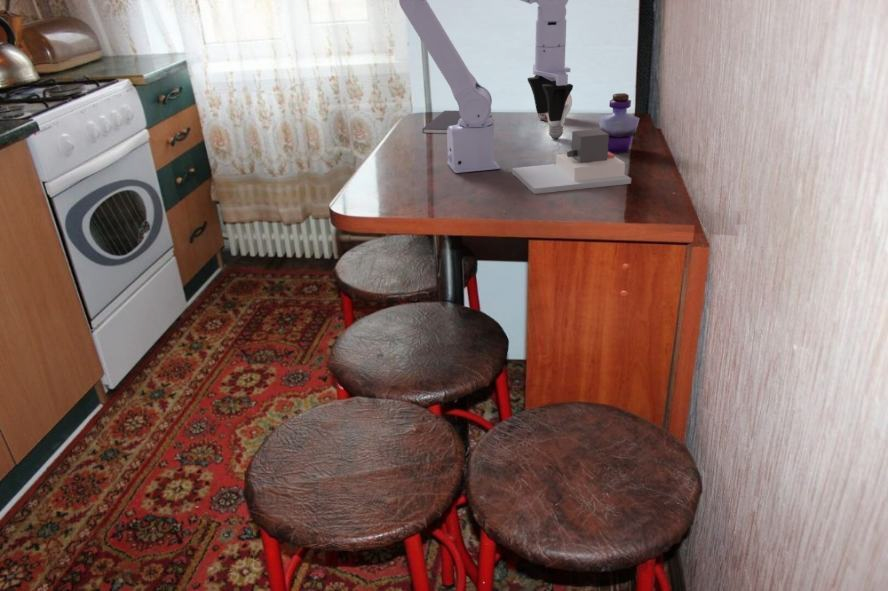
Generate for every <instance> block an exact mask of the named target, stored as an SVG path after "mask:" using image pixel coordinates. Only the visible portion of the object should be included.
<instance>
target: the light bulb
mask: <svg viewBox="0 0 888 591" xmlns="http://www.w3.org/2000/svg"><path fill="white" fill-rule="evenodd" d="M572 106H573V98H572V95H571V93H570V94H569V96H568V98H567V100H566V103H565V106H564V110H563V114H562V118H561V121H550V120H549V115H548V113H545V115H546V116H547V120H548V121H547V124H548V135H549V136H550V138H552V139H553V140H559V139H560V138H561V137H562V136H563V134H564V125H565V123H566V117H567V116H568V114H569V113H570V111H571V109H572Z"/></svg>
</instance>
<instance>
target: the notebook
mask: <svg viewBox="0 0 888 591" xmlns="http://www.w3.org/2000/svg"><path fill="white" fill-rule="evenodd" d="M459 119H461V117H460V114H459V110H443V111H442V112H441V113H440V114H439V115H438V116H437V115H436V117H435V118H433V119H432V120H431V121H430V122H429V123H427V125H425V126H424V127H423V128H421V129H422V134H426V133H427V134H428V133H429V134H430V133H431V134H447V129H448V127H449V126H453V125H457V124H458V121H459Z"/></svg>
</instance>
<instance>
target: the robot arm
mask: <svg viewBox="0 0 888 591" xmlns="http://www.w3.org/2000/svg"><path fill="white" fill-rule="evenodd" d="M520 1H521V2H524V3H527V4H530V5H531V4H534V3H536V4H537V5H538V6H537V14H536V15H537V16H536V17H537V19H536V20H535V51H534V52H535V53H534V54H535V56H534V57H535V58H534V61H535V62H534V64H533V65H532V66H533V70H532V74H533V75H534V76H533V77H532V76H530V77H527V82H528V85H529V87H530V88H531V92H532V96H533V100H534V104H535V110H536V113H537V115H538V114H540V113H548V115H549V120H550V121H561V118H562V114H563V110H564V106H565V103H566V100H567V98H568V96H569V94H571V92H572V91H573V88H574V85H573V84H572V83H568V82H569V81H568V80H569V78H568V77H569V74H568V73H571V68H570V67H568V66H566V45H567V43H566V42H567V40H566V39H567V19H566V17H567V16H566V15H567V8H566V6H567V4H568V2H569V0H520ZM398 3H399V6H400V8H401V10H402V12H403V13H404V14H405V17H406V18H407V19H408V21H409V23H410V25H412V27H413V29H414V31H415V32H416V34H417V36H418V37H419V39H420V40H421V42H422V44H423V45H424V47H425V49H426V50H427V51H428V53H429V55H430V56H431V58H432V60H433V61H434V63H435V65H436V66H437V68H438V69H439V71H440V73H441V74H442V76H443V77H444V80H445V81H446V83H447V84H448V85H449V88H450V90H451V93H452V95H453V98H454V100H455V101H456V103H457V105H458V111H459V114H460V117H461V119H459V121H458V124H457V125H453V126H449V127H448V129H447V133H446V143H447V144H446V146H447V165H448V166H449V167H450V169H452V171H453V172H454V173H455V174H461V173H470V172H471V173H472V172H481V171H488V170H489V171H491V170H500V169H501V166H500V165H499V164H498V163H497V162H496V161H495V127H494V126H495V124H494V123H495V120H494V119H493V118H492V117H491V114H492V104H493V103H492V102H493V101H492V100H493V99H492V96H491V93H490V91H489V90H488V89H487V88H486V87H484V86H482V85H481V84H480V83H479V82H478V80H477V79H476V77H475V76H474V75H473V74H472V73H471V71H470V70H469V69H468V66H467V65H466V64H465V62H464V60H463V58H462V57H461V56H460V53H459V52H458V50H457V48H456V46H455V45H454V43H453V42H452V40H451V39H450V37H449V35H448V34H447V32H446V31H445V28H444V27H443V26H442V24H441V21H439V19H438V17H437V16H436V14H435V12H434V11H433V9H432V7H431V5H430V3H429V2H428V1H427V0H398Z"/></svg>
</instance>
